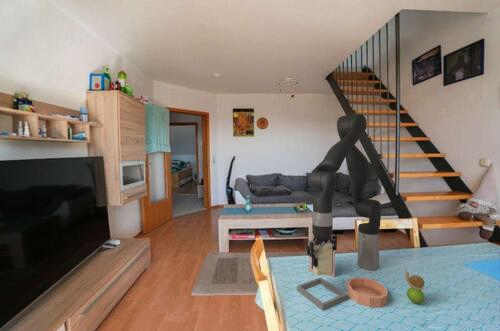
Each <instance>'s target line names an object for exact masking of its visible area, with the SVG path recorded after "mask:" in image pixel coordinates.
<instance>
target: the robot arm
mask: <svg viewBox="0 0 500 331" xmlns="http://www.w3.org/2000/svg"><path fill="white" fill-rule="evenodd" d="M367 125H368V123H367V117H366V116H365V115H364V114H361V113H356V114H347V115H342V116H340V117H338V119H337V121H336V130H337V134H338V137H339V139H340V140H339V141H337V142H336V143H335V144H334V145H332V146H331V147H330V148H329V150H328V151H327V152H326V154H325V155H324V158H323V160H322V161H320V163H318V165H316V167H314V168H313V170H311V172H310V173H309V175H308V181H307V182H308V185H309V186H310V187H311V188H312V189H316V190H322V194H318V195H314V196H313V199H312V215H311V218H312V219H311V223H312V228H311V229H312V235H313V238H312V239H311V240H312V241H309V239H308V240H307V241H306V255H307V256H308V257H309V256H310V257H312V265H313V266H314V267H318V258H317V257H318V254H319V253H320V252H321V250H322V248H323V246H324V244H325V243H330V242H331V243H332V259H333V252H334V250H335V251H337V249H338V236H337V235H335V234H333V225H334V224H333V221H334V220H333V219H334V218H333V217H334V216H333V198H334V195H335V191H336V188H337V185H338V179H337V175H336V174H335V173H337V172H338V171H339V170H340V168H341V166H342V164H343V163H344V161H345V162H346V168H347V172H348V176H349V180H350V185H351V190H352V197H353V198H352V199H353V208H354V211H355V214H356V215H357V216H359V217H361V218H365V219H366V218H367V219H368V222H363V223H360V224H358V226H357V256H356V257H357V261H356V262H357V263H356V264H357V266H358V267H359V268H360V269H363V270H367V271H376V270H378V269H379V267H380V227H381V219H382V204H381V201H379V200H377V199H372V198H371V199H370V198H366V197H365V194H364V191H365V190H364V189H365V187H366V185H367V183H369V180H370V178H371V169H370V168H371V167H370V164H369V163H370V162H369V160H368V158H367V157H366V155H365V154H364V153H363V152H362V151H361V150H360V149H359V148H358V146H356V144H357V142H358V141H359V140H360V139H361V138H362V136H363V135H364V134H365V131H367ZM333 244H334V246H333ZM316 245H317V246H318V245H320V246H319V249H315V246H316ZM315 251H316V253H315ZM310 252H311V253H310ZM314 253H315V254H314Z"/></svg>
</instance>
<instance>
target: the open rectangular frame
mask: <svg viewBox="0 0 500 331" xmlns="http://www.w3.org/2000/svg"><path fill="white" fill-rule="evenodd" d="M318 285H322V286H324V287H325V288H326V289H328V290H329V291H331V292H332V293H334V294H335V295H337V296H336V297H333V298H331V299H328V300H326V301H324V302H322V301H321V300H319V299H318V298H317V297H316V296H314V295H313V294H312V293H310V292H309V291H307V289H310V288H312V287H316V286H318ZM296 292H298V293H299V294H301V295H302V296H303V297H304V298H306V299H307V300H308V301H310V302H311V303H312V304H314V305H315V306H316V307H317V308H318V309H320V311H322V312H323V311H325V310H327V309H329V308H332V307H334V306H336V305H339V304H341V303H344V302H346V301H348V297H349V295H348V294H347V292H345V291H343V290H341V289H340V288H338V287H337V286H335V285H334V284H332V283H330V282H328V281H327V280H325V278H322V277H318V278H315V279H313V280H309V281H307V282H304V283H301V284H298V285H296Z"/></svg>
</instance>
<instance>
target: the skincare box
mask: <svg viewBox="0 0 500 331" xmlns="http://www.w3.org/2000/svg"><path fill="white" fill-rule="evenodd" d="M319 246H320V245H318V246H317V245H316V246H315V249H319ZM315 253H316V251H315ZM315 253H314V254H315ZM317 258H318V267H314V266H313V271H314V272H315V273H314V274H316V275H317V276H327V275H329V274H332V243H331V242H330V243H325V244H324V246H323V248H322V250H321V252H320V253H319V254H318V257H317Z"/></svg>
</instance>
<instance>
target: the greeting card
mask: <svg viewBox="0 0 500 331" xmlns="http://www.w3.org/2000/svg"><path fill="white" fill-rule="evenodd" d="M308 240H309V239H308ZM312 240H313V239H311V240H309V241H312ZM333 246H334V244H333ZM310 253H311V252H310ZM308 257H309V260H308V261H309V262H308V263H309V265H308V266H309V267H308V270H309V271H308V272H310V273H314V274H316V273H315V272H314V271H313V265H312V257H310V256H308ZM326 276H328V277H333V278H335V277H336V250H334V252H333V259H332V274H329V275H326Z"/></svg>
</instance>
